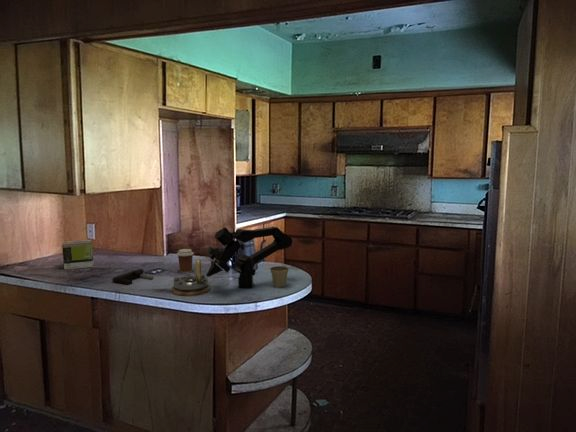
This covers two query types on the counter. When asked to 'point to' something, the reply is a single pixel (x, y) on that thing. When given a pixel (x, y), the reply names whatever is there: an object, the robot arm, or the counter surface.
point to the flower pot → (279, 275)
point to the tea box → (77, 254)
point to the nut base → (182, 293)
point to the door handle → (131, 277)
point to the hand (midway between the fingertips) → (207, 276)
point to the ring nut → (191, 281)
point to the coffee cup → (185, 260)
